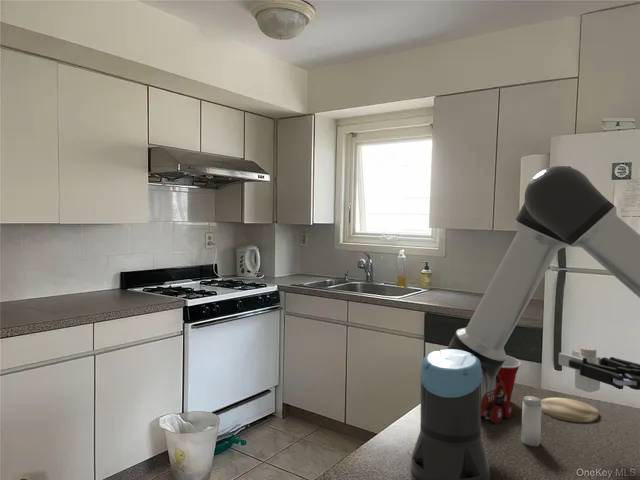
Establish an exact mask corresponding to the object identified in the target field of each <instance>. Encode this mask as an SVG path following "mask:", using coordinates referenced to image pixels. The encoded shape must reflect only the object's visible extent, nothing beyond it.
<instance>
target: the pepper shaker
mask: <svg viewBox="0 0 640 480" xmlns="http://www.w3.org/2000/svg"><path fill="white" fill-rule="evenodd" d="M579 352H580V356H581V358H582V359H583V358H587V362H590V363H595V364H599V363H597V362H596V356H597V349H596V348H595V347H593V346H592V347H591V346H581V347H580V349H579ZM599 365H600V364H599ZM574 387H575V388H576V389H577V390H581V391H584V392H587V393H595V392H596V391H599V390H600V389H601V382H600V381H597V380H594V379H591V378H588V377H585V376H582V375H580V371H578V370H575V369H574Z"/></svg>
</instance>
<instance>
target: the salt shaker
mask: <svg viewBox="0 0 640 480" xmlns="http://www.w3.org/2000/svg"><path fill="white" fill-rule="evenodd" d="M541 400H542V399H541V398H539V397H536V396H532V395H527V396H523V400H522V405H521V407H522V408H521V410H522V411H521V430H520V433H521V434H520V435H521V436H520V439H521V440H520V442H521V443H522V444H524V445H526V446H529V447H538V446H540V445H541V436H542V435H541V431H542V429H541V427H542V404H541Z"/></svg>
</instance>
